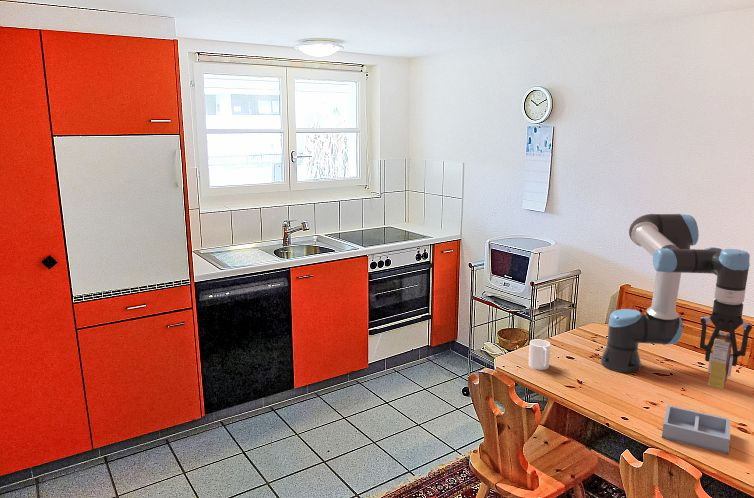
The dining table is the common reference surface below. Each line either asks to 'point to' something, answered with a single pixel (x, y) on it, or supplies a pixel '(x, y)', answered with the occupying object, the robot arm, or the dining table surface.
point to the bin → (697, 429)
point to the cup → (539, 354)
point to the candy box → (720, 360)
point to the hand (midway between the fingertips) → (719, 372)
